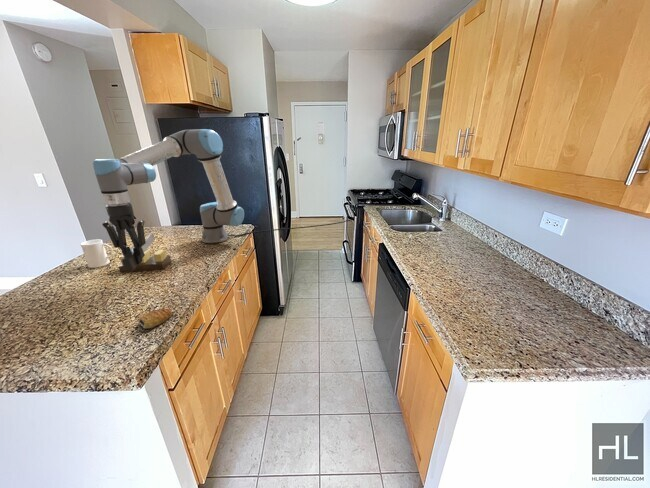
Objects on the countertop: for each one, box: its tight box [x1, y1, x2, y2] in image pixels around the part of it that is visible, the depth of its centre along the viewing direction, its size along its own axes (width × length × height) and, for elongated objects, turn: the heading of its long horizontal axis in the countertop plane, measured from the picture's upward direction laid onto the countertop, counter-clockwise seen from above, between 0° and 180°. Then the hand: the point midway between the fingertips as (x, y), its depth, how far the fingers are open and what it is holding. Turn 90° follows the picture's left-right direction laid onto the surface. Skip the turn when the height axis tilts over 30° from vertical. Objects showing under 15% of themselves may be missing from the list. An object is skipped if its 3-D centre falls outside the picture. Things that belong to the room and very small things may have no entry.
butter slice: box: [153, 249, 167, 262], centre depth 128 cm, size 3×6×4 cm, turn 9°
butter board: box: [117, 254, 172, 273], centre depth 128 cm, size 19×10×3 cm, turn 99°
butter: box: [119, 250, 151, 264], centre depth 126 cm, size 10×6×4 cm, turn 99°
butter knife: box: [122, 232, 156, 270], centre depth 106 cm, size 2×23×5 cm, turn 9°
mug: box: [80, 238, 114, 269], centre depth 128 cm, size 12×8×12 cm
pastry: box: [138, 308, 173, 330], centre depth 88 cm, size 9×7×4 cm
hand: (135, 262), depth 102 cm, fingers closed on butter knife, 2 cm apart
